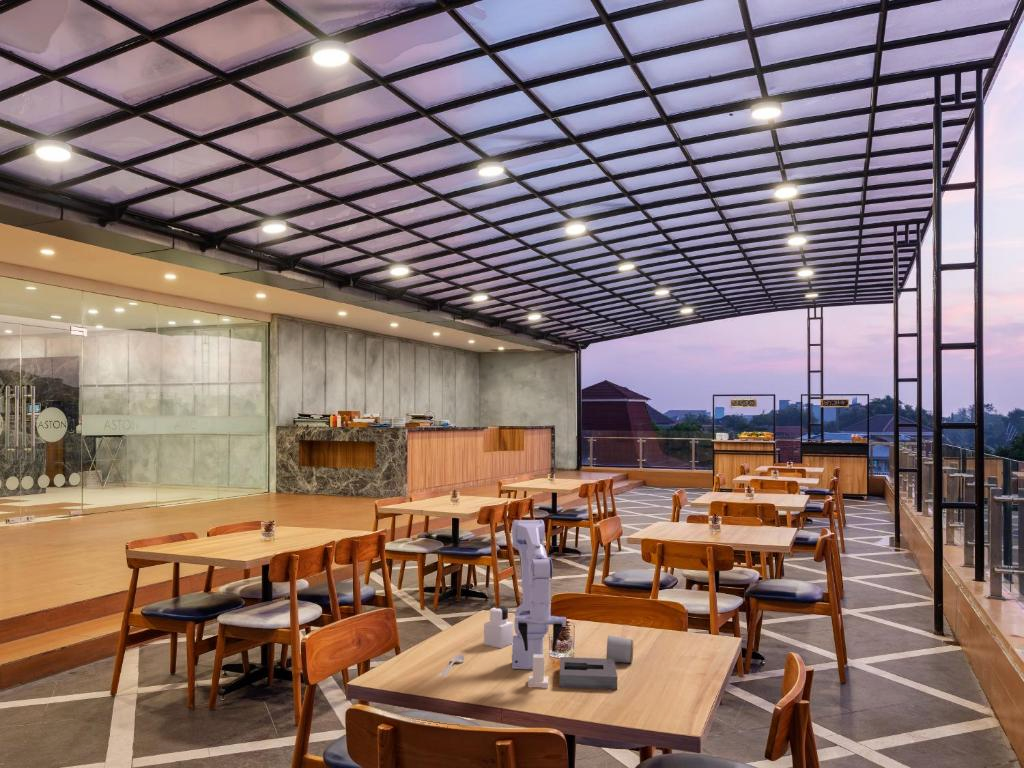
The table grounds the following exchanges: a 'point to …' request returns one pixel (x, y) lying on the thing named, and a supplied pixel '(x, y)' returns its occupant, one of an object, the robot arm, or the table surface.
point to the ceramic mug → (620, 649)
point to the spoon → (458, 657)
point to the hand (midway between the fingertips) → (539, 650)
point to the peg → (538, 673)
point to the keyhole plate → (588, 673)
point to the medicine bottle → (498, 628)
